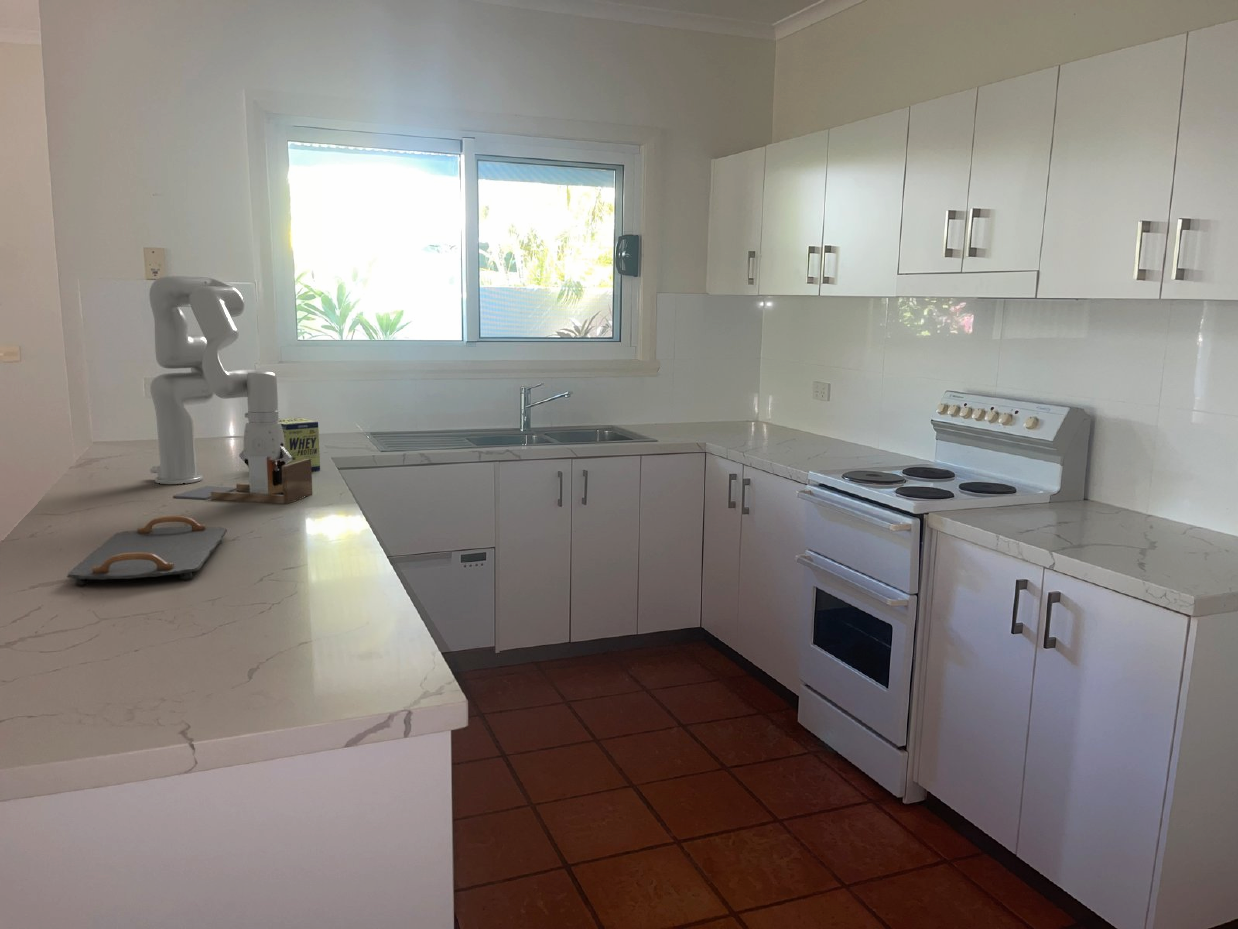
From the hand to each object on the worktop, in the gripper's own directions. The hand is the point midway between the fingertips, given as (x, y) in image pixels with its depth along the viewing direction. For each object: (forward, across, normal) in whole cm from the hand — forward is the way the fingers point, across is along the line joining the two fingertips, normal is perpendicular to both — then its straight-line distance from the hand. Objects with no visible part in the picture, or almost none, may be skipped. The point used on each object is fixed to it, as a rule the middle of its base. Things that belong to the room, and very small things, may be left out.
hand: (266, 483), depth 248 cm
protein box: (+4, -16, +41) cm, 44 cm away
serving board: (+4, +14, -61) cm, 63 cm away
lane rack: (+4, -1, 0) cm, 4 cm away
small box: (+3, 0, 0) cm, 3 cm away
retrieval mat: (+4, -19, 0) cm, 19 cm away
